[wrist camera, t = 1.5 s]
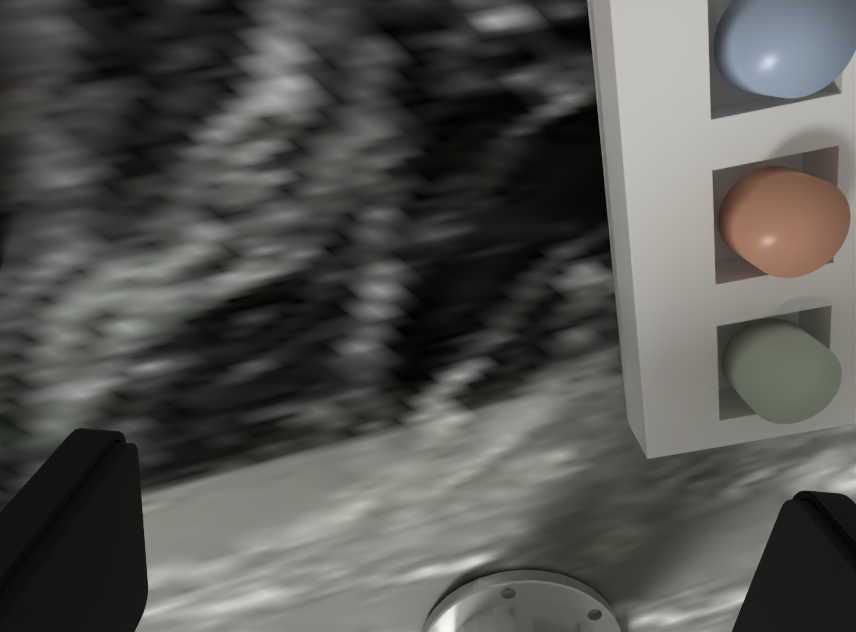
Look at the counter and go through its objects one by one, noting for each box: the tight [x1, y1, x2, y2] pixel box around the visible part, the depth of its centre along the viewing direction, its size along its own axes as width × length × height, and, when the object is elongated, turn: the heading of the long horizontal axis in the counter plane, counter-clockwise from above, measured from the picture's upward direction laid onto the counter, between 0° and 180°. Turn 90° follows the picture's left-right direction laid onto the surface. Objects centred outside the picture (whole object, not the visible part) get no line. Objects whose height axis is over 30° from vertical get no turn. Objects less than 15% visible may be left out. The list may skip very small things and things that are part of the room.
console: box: [587, 0, 856, 459], centre depth 29 cm, size 22×12×3 cm, turn 11°
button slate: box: [714, 0, 856, 98], centre depth 24 cm, size 4×4×3 cm
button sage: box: [722, 318, 842, 424], centre depth 29 cm, size 4×4×3 cm
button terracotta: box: [718, 166, 851, 278], centre depth 27 cm, size 4×4×3 cm
